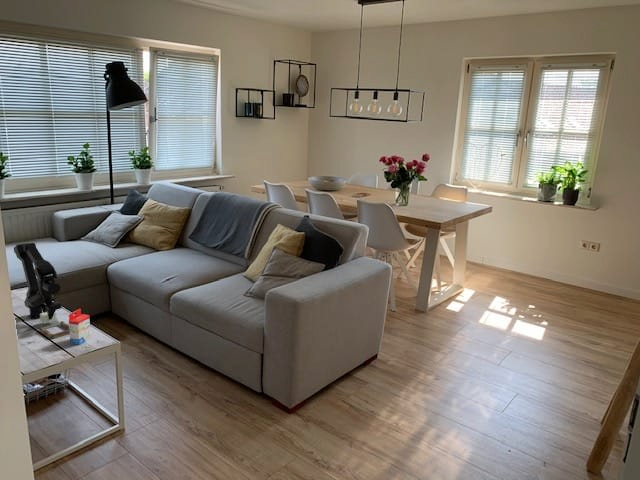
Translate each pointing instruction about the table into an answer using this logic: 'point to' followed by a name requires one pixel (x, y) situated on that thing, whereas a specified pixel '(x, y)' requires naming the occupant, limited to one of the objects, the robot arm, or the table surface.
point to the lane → (56, 333)
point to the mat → (48, 324)
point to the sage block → (45, 318)
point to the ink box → (79, 327)
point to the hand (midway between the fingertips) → (48, 318)
